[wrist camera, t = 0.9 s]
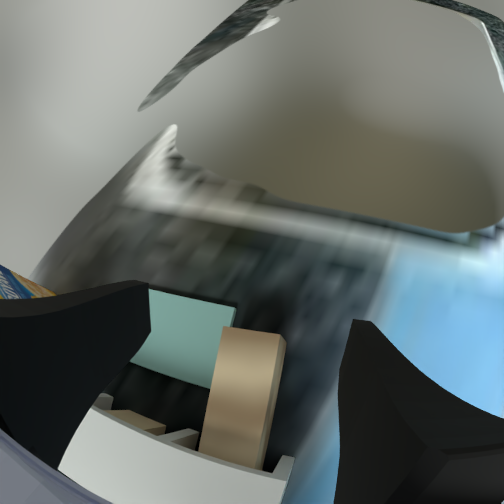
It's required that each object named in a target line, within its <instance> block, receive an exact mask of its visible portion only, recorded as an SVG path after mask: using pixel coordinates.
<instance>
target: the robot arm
mask: <svg viewBox="0 0 504 504" xmlns="http://www.w3.org/2000/svg"><path fill="white" fill-rule="evenodd" d="M150 333H151V319H150V303H149V283H146V282H141V281H137V280H129V281H122V282H117V283H112V284H108V285H103V286H99V287H95V288H91V289H86V290H82V291H77V292H72V293H67V294H62V295H56V296H49V297H40V298H27V299H0V504H113V503H111V502H109V501H107V500H105V499H103V498H102V497H100V496H98V495H96V494H94V493H92V492H90V491H89V490H87V489H85V488H83V487H82V486H80V485H78V484H76V483H75V482H73V481H72V480H70V479H68V478H67V477H65V476H63V475H62V474H60V473H59V472H57V470H58V467H59V465H60V463H61V460H62V458H63V456H64V454H65V451H66V449H67V447H68V445H69V444H70V442H71V440H72V438H73V436H74V434H75V432H76V430H77V429H78V427H79V425H80V424H81V422H82V420H83V419H84V417H85V416H86V414H87V412H88V411H89V409H90V408H91V406H92V405H93V403H94V402H95V401H96V399H97V398H98V396H99V395H100V394H101V392H102V391H103V390H104V389H105V388H106V386H107V385H108V384H109V383H110V382H111V381H112V380H113V379H114V378H115V377H116V375H117V374H118V373H119V372H120V371H121V370H122V369H123V368H124V367H125V366H126V365H127V363H128V362H129V361H130V360H131V359H132V358H133V357H134V356H135V354H136V353H137V352H138V351H139V350H140V348H141V347H142V345H143V344H144V342H145V341H146V339H147V338H148V336H149V334H150ZM338 409H339V432H340V459H339V468H338V477H337V484H336V491H335V497H334V504H501V503H502V502H503V501H504V419H503V418H500V417H497V416H495V415H492V414H490V413H488V412H486V411H483V410H481V409H479V408H477V407H475V406H473V405H471V404H469V403H467V402H465V401H463V400H462V399H460V398H458V397H457V396H455V395H453V394H452V393H450V392H448V391H447V390H445V389H444V388H442V387H441V386H439V385H438V384H437V383H435V382H434V381H433V380H431V379H430V378H429V377H427V376H426V375H425V374H424V373H422V372H421V371H420V370H419V369H418V368H417V367H415V366H414V365H413V364H412V363H411V362H410V361H409V360H408V359H407V358H406V357H405V356H404V355H403V354H402V353H401V352H400V351H399V350H398V349H397V348H396V347H395V346H394V345H393V344H392V343H391V342H390V341H389V340H388V339H387V338H386V336H385V335H384V334H383V333H382V332H381V331H380V330H379V329H378V328H377V327H376V326H375V325H374V324H373V323H372V322H371V321H364V320H357V319H353V321H352V325H351V329H350V333H349V337H348V341H347V344H346V348H345V352H344V355H343V359H342V362H341V366H340V370H339V383H338Z"/></svg>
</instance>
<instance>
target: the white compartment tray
mask: <svg viewBox="0 0 504 504" xmlns="http://www.w3.org/2000/svg"><path fill="white" fill-rule="evenodd" d="M113 398H114V397H112V396H110V395H108V394H106V393H101V394H100V395H99V396H98V398H97V399H96V401H95V402H94V403H93V405H92V406H91V408H90V409H89V411H88V412H87V414H86V416H85V417H84V419H83V420H82V422H81V424H80V425H79V427H78V429H77V430H76V432H75V434H74V436H73V438H72V440H71V442H70V444H69V445H68V447H67V449H66V451H65V454H64V456H63V458H62V460H61V463H60V465H59V467H58V469H59V470H60V471H61V472H63V473H64V474H65V475H67V476H68V477H70V478H71V479H72V480H74V481H75V482H77V483H78V484H80V485H81V486H83V487H84V488H86V489H87V490H89V491H90V492H92V493H94V494H96V495H98V496H100V497H102V498H103V499H105V500H107V501H109V502H111V503H113V504H281V502H282V499H283V496H284V493H285V490H286V487H287V484H288V480H289V477H290V474H291V470H292V467H293V464H294V460H295V457H290V456H285V455H282V457H281V459H280V461H279V463H278V464H277V466H276V468H275V470H274V471H273V473H269V472H264V471H260V470H256V469H253V468H249V467H245V466H241V465H238V464H234V463H231V462H228V461H224V460H221V459H218V458H215V457H212V456H209V455H206V454H203V453H200V452H197V451H195V448H196V444H197V440H198V436H199V432H198V431H195V430H192V429H189V428H188V429H184V430H180V431H176V432H172V433H168V434H165V430H166V425H163V424H161V423H158V422H156V421H154V420H151V419H149V418H146V417H144V416H142V415H140V414H137V413H135V412H133V411H131V410H111V407H112V402H113Z"/></svg>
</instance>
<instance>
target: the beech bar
mask: <svg viewBox="0 0 504 504" xmlns="http://www.w3.org/2000/svg"><path fill="white" fill-rule="evenodd" d="M286 343H287V342H286V341H285V340H284V339H283V337H282V336H281V335H280V334H273V333H266V332H259V331H252V330H246V329H239V328H233V327H227V326H223V329H222V334H221V339H220V344H219V349H218V354H217V359H216V364H215V369H214V374H213V379H212V384H211V389H210V394H209V399H208V404H207V409H206V414H205V419H204V424H203V430H202V435H201V440H200V445H199V450H198V452H200V453H203V454H206V455H209V456H212V457H215V458H218V459H221V460H224V461H228V462H231V463H234V464H238V465H241V466H245V467H249V468H253V469H256V470H260V471H262V468H263V463H264V459H265V454H266V449H267V445H268V440H269V435H270V430H271V425H272V420H273V415H274V410H275V405H276V400H277V394H278V389H279V384H280V378H281V372H282V367H283V361H284V355H285V349H286Z"/></svg>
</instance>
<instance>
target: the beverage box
mask: <svg viewBox="0 0 504 504" xmlns="http://www.w3.org/2000/svg"><path fill="white" fill-rule="evenodd" d="M49 296H56V294H55V293H54V292H52V291H50V290H48V289H46V288H44V287H42V286H40V285H38V284H36V283H34V282H32V281H30V280H28V279H26V278H24V277H22V276H20V275H18V274H16V273H15V272H13V271H11V270H9V269H7V268H5V267H3V266H2V265H0V299H27V298H40V297H49Z"/></svg>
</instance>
